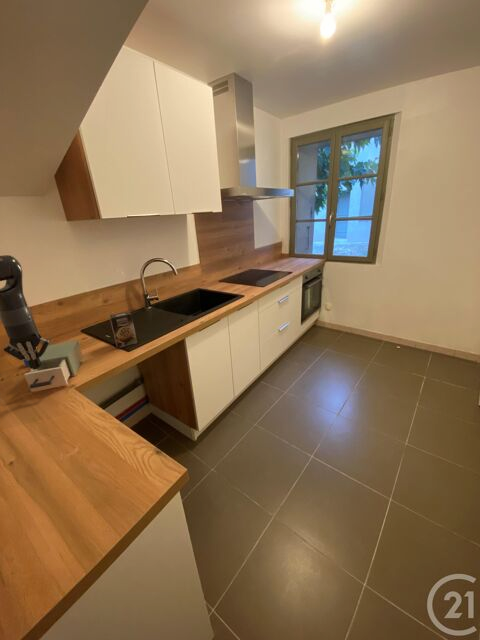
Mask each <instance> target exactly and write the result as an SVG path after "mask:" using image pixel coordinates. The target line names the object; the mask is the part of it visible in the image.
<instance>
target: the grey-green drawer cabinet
mask: <svg viewBox="0 0 480 640" xmlns="http://www.w3.org/2000/svg"><path fill="white" fill-rule="evenodd" d="M65 358H67V361H68V364H69V367H70V370H71V374H70V376H69V378H72V377H76V375H77V373H78V371H79V369H80V367H81V365H82V363H83V361H82V360H83V358H84V355H83V353H82V350H81V346H80V343H79V340H74V341H67V342H62V343H55V344H49V345H48V347H47V349H46V350H45V352H44V354H43V355H42V356H41V357H39V359H40V361H41V363H42V362H48V361H53V360H59V359H65Z"/></svg>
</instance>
